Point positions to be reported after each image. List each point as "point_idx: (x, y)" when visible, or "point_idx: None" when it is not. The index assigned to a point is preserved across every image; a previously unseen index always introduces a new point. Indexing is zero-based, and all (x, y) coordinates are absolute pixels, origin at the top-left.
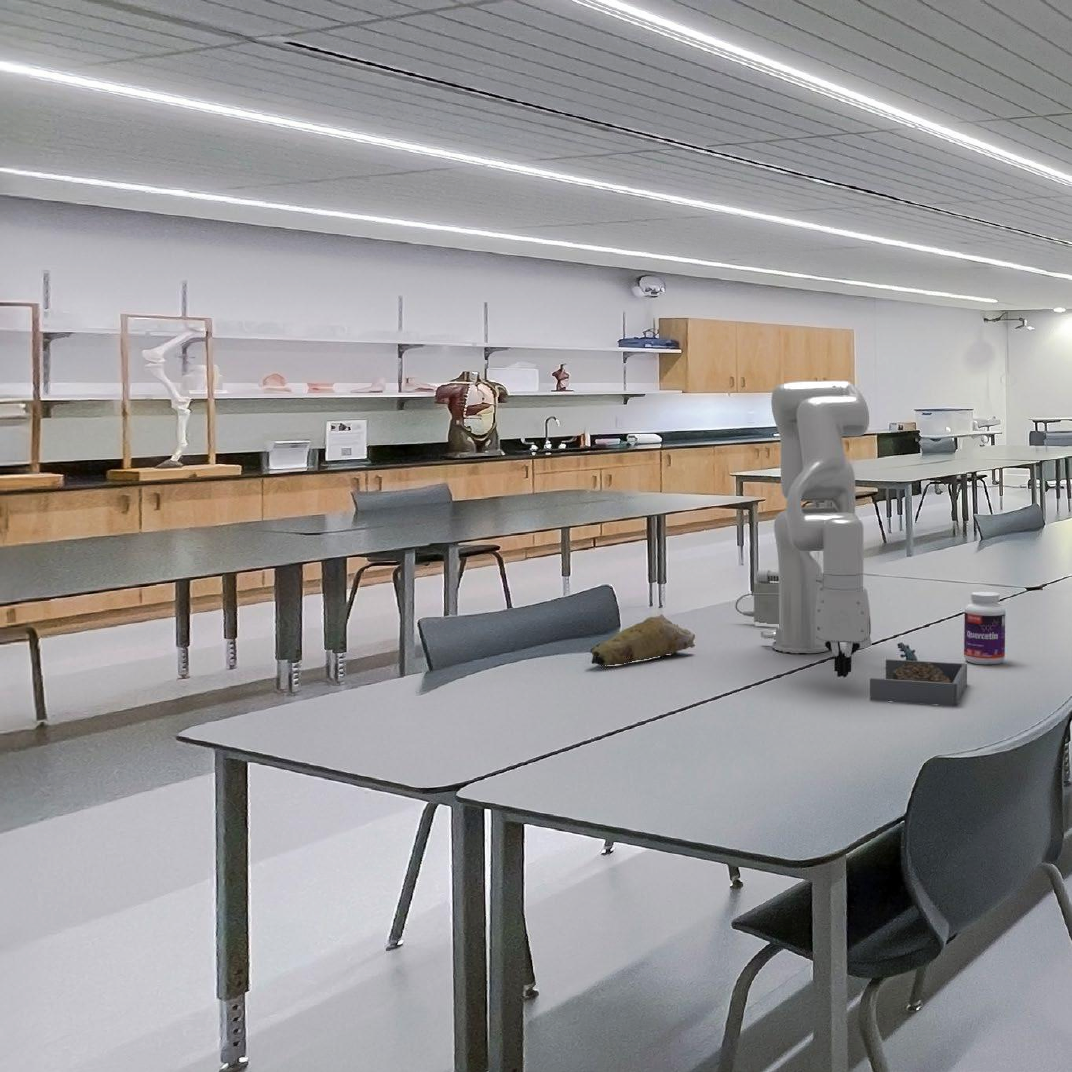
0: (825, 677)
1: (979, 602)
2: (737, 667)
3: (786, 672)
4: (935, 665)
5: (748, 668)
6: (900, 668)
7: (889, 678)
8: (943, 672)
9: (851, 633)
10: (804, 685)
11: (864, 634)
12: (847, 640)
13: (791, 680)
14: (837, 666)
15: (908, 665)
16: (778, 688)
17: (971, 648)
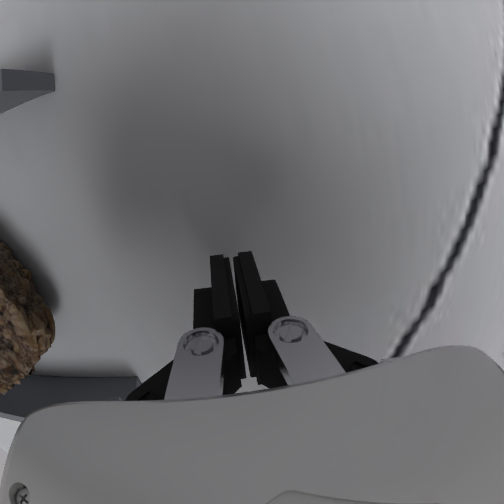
0: None
1: None
2: (482, 323)
3: (411, 339)
4: (16, 409)
5: (469, 327)
6: (24, 353)
7: (127, 381)
8: (9, 394)
9: (127, 486)
10: (368, 218)
11: (10, 459)
12: (175, 407)
13: (406, 269)
14: (257, 275)
15: (4, 365)
16: (435, 145)
17: None
